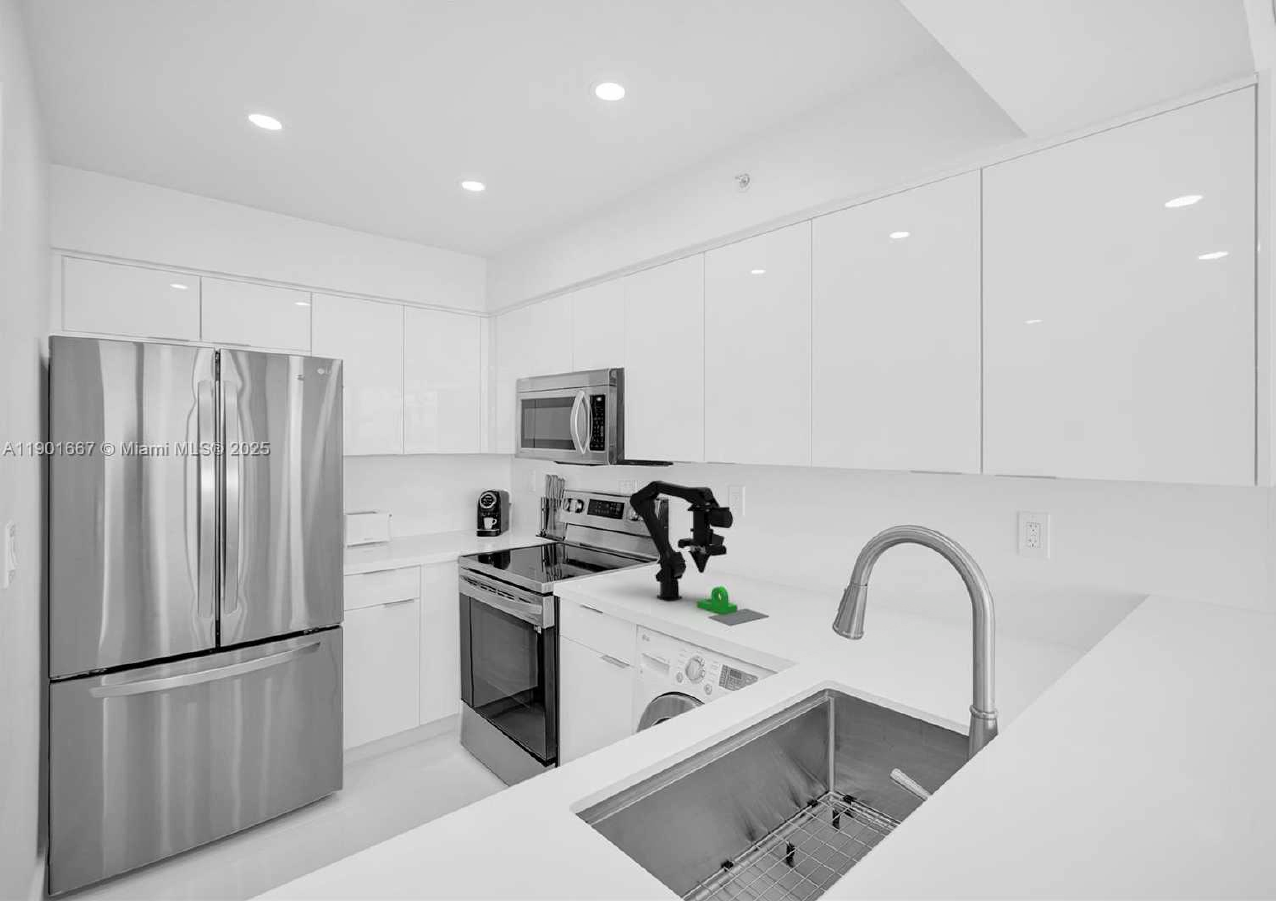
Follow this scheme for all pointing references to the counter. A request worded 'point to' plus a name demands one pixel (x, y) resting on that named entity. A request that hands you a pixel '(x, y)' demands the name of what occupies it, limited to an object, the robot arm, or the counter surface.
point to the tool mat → (738, 617)
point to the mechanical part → (718, 602)
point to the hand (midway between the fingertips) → (701, 572)
